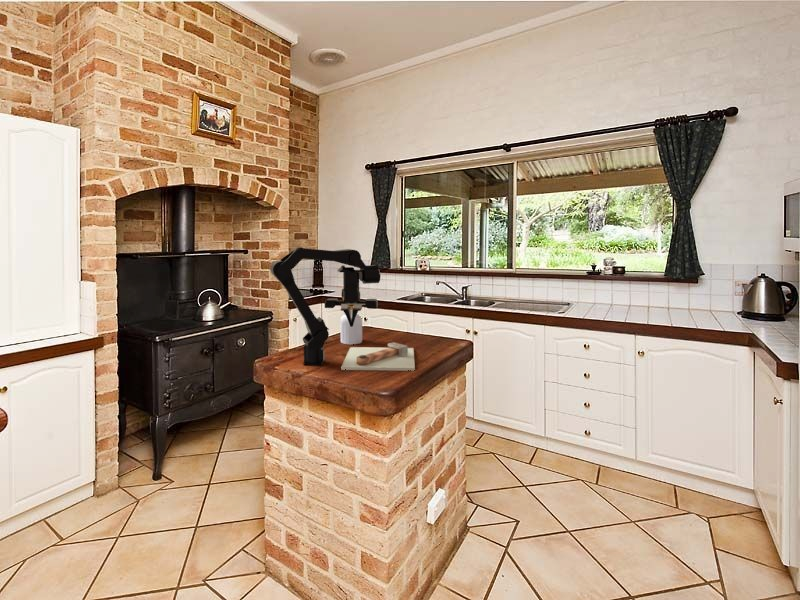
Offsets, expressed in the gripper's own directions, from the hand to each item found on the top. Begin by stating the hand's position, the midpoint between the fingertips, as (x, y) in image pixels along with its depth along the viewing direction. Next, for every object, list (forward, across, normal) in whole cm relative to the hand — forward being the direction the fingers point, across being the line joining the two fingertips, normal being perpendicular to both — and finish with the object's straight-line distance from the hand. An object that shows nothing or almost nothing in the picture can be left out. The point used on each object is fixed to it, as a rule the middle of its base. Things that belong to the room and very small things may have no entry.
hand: (351, 326), depth 165 cm
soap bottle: (+12, +3, -24) cm, 27 cm away
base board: (+12, -10, +1) cm, 16 cm away
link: (+11, -11, +3) cm, 15 cm away
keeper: (+12, -17, -2) cm, 21 cm away
